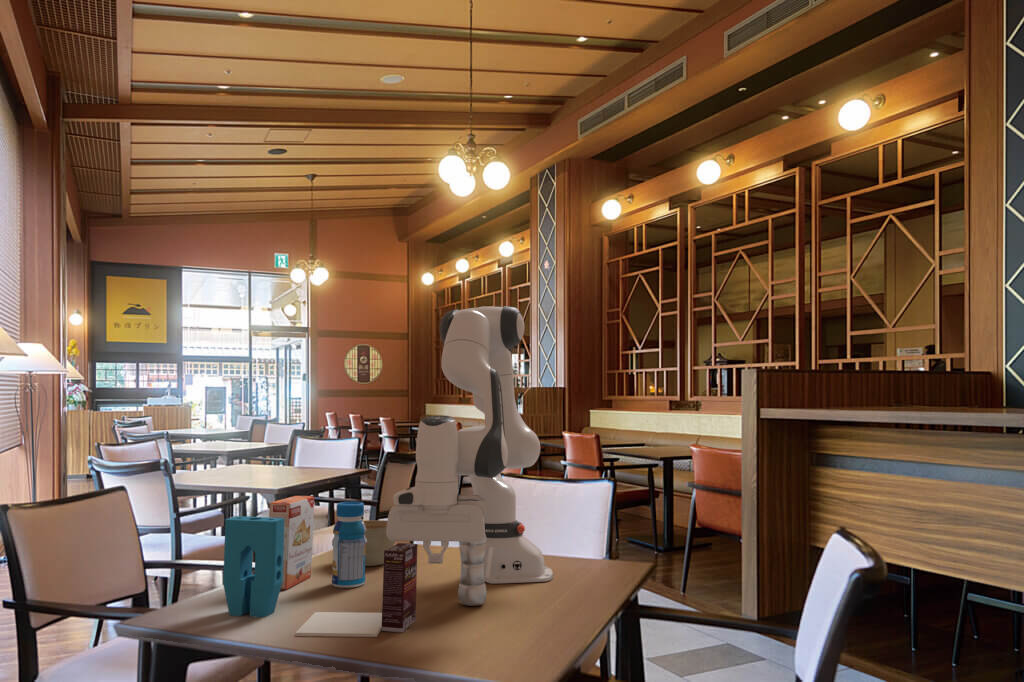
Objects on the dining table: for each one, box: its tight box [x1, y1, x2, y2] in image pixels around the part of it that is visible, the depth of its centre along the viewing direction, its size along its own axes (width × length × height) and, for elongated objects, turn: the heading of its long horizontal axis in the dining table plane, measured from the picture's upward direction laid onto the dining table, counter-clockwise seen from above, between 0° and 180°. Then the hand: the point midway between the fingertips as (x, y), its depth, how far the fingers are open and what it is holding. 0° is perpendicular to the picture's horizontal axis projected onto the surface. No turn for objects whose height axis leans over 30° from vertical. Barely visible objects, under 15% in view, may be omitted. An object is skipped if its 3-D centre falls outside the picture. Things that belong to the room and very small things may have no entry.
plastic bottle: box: [457, 534, 488, 607], centre depth 166 cm, size 6×7×20 cm
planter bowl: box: [363, 519, 396, 567], centre depth 207 cm, size 16×16×11 cm
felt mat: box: [294, 611, 382, 638], centre depth 150 cm, size 16×14×1 cm
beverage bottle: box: [331, 501, 367, 589], centre depth 184 cm, size 8×8×20 cm
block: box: [222, 515, 285, 618], centre depth 159 cm, size 12×5×20 cm, turn 79°
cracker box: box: [268, 495, 315, 591], centre depth 185 cm, size 14×6×21 cm, turn 170°
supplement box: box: [380, 542, 419, 634], centre depth 150 cm, size 9×5×16 cm, turn 170°
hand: (435, 563), depth 151 cm, fingers closed
